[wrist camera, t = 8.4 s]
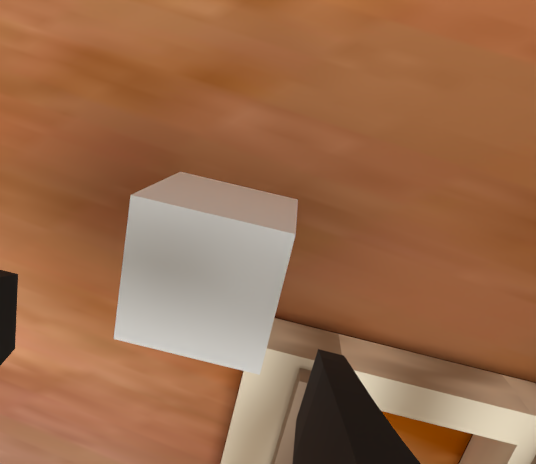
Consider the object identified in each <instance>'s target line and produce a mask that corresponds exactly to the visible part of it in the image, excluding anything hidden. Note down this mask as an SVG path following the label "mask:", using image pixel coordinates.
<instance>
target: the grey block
mask: <svg viewBox="0 0 536 464" xmlns="http://www.w3.org/2000/svg"><path fill="white" fill-rule="evenodd" d="M297 208H298V199H294V198H290V197H285V196H281V195H277V194H273V193H269V192H264V191H260V190H256V189H252V188H248V187H243V186H239V185H235V184H231V183H226V182H222V181H218V180H214V179H210V178H205V177H201V176H197V175H193V174H189V173H184V172H179V173H176V174H174V175H172V176H170V177H168V178H166V179H164V180H161V181H159V182H157V183H155V184H153V185H151V186H149V187H146V188H144V189H142V190H140V191H138V192H136V193H134V194H131V197H130V205H129V213H128V222H127V230H126V239H125V247H124V256H123V264H122V273H121V281H120V289H119V298H118V306H117V315H116V323H115V332H114V339H116V340H120V341H124V342H128V343H132V344H137V345H141V346H145V347H149V348H153V349H157V350H161V351H165V352H169V353H173V354H177V355H181V356H185V357H189V358H193V359H197V360H202V361H206V362H210V363H214V364H218V365H222V366H226V367H230V368H234V369H238V370H242V371H246V372H250V373H254V374H258V375H260V372H261V368H262V364H263V360H264V356H265V353H266V349H267V345H268V341H269V337H270V333H271V329H272V325H273V321H274V317H275V313H276V310H277V306H278V302H279V298H280V294H281V290H282V286H283V282H284V278H285V274H286V270H287V267H288V263H289V259H290V255H291V251H292V247H293V243H294V239H295V235H296V223H297Z"/></svg>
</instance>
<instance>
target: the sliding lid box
mask: <svg viewBox="0 0 536 464" xmlns="http://www.w3.org/2000/svg"><path fill="white" fill-rule="evenodd" d="M318 349H320V350H324V351H328V352H332V353H336V354H340V355H344V356H345V358H346V359H347V361H348V362H349V364H350V365H351V367H352V368H353V370H354V371H355V373H356V374H357V376H358V377H359V379H360V381H361V382H362V384H363V385H364V387H365V388H366V390H367V391H368V393H369V394H370V396H371V397H372V399H373V400H374V402H375V403H376V405H377V406H378V407H379V409H380V410H381V411H384V412H388V413H392V414H396V415H400V416H404V417H408V418H411V419H415V420H419V421H423V422H427V423H431V424H435V425H439V426H443V427H447V428H451V429H455V430H459V431H463V432H467V433H471V434H473V436H472V438H471V440H470V442H469V444H468V446H467V448H466V450H465V452H464V454H463V456H462V459H461V461H460V463H459V464H536V383H533V382H529V381H525V380H521V379H517V378H513V377H509V376H505V375H501V374H497V373H493V372H489V371H485V370H481V369H477V368H473V367H469V366H465V365H461V364H457V363H453V362H449V361H445V360H441V359H437V358H433V357H429V356H425V355H421V354H417V353H413V352H409V351H405V350H401V349H397V348H393V347H389V346H385V345H381V344H377V343H373V342H369V341H365V340H361V339H357V338H353V337H349V336H345V335H341V334H337V333H333V332H329V331H325V330H321V329H317V328H313V327H309V326H305V325H301V324H297V323H293V322H289V321H285V320H281V319H277V318H274V321H273V325H272V329H271V333H270V337H269V341H268V345H267V349H266V353H265V356H264V360H263V364H262V368H261V372H260V375H258V374H254V373H250V372H246V371H243V375H242V379H241V383H240V387H239V391H238V395H237V399H236V403H235V407H234V411H233V415H232V419H231V423H230V427H229V431H228V435H227V439H226V443H225V447H224V451H223V455H222V459H221V463H220V464H293V451H294V439H295V428H296V419H297V415H298V412H299V409H300V406H301V403H302V399H303V396H304V393H305V390H306V386H307V383H308V380H309V377H310V373H311V370H312V367H313V364H314V361H315V357H316V354H317V351H318Z"/></svg>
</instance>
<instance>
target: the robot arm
mask: <svg viewBox="0 0 536 464" xmlns="http://www.w3.org/2000/svg"><path fill="white" fill-rule="evenodd" d="M17 284H18V274H15V273H11V272H7V271H3V270H0V365H1V364H2V363H3V362H4V361H5V359H6V358H7V357H8V356H9V355H10V354H11V352H12V351H13V350H14V349H15V333H16V309H17ZM293 464H420V462H419V461H418V460H417V459H416V457H415V456H414V455H413V453H412V452H411V451H410V450H409V448H408V447H407V446H406V445H405V443H404V442H403V441H402V439H401V438H400V437H399V435H398V434H397V433H396V431H395V430H394V429H393V427H392V426H391V424H390V423H389V422H388V420H387V419H386V417H385V416H384V415H383V413H382V412H381V410H380V409H379V407H378V406H377V405H376V403H375V402H374V400H373V399H372V397H371V396H370V394H369V393H368V391H367V390H366V388H365V387H364V385H363V384H362V382H361V381H360V379H359V377H358V376H357V374H356V373H355V371H354V370H353V368H352V367H351V365H350V364H349V362H348V361H347V359H346V358H345V356H344V355H340V354H336V353H332V352H328V351H324V350H320V349H318V351H317V354H316V357H315V361H314V364H313V367H312V370H311V373H310V377H309V380H308V383H307V386H306V390H305V393H304V396H303V399H302V403H301V406H300V409H299V412H298V415H297V419H296V428H295V439H294V451H293Z"/></svg>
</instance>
